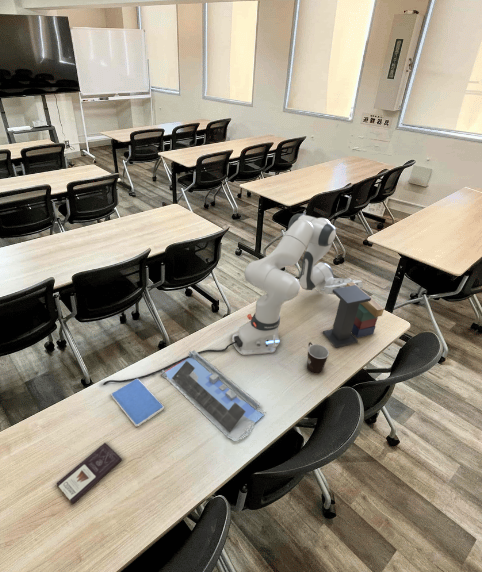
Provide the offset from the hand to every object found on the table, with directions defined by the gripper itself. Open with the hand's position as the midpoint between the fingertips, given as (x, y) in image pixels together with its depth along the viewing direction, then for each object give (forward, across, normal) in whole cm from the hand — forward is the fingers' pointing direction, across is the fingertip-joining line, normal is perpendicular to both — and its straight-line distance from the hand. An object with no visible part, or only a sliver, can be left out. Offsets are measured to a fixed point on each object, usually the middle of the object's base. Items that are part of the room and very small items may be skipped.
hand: (352, 288), depth 176 cm
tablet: (+10, -110, +26) cm, 113 cm away
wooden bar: (+6, 0, +6) cm, 9 cm away
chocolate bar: (+30, -128, +37) cm, 136 cm away
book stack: (-1, 0, +20) cm, 20 cm away
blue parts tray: (+15, -81, +29) cm, 87 cm away
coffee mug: (+14, -34, +28) cm, 46 cm away
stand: (+3, -13, +22) cm, 26 cm away
